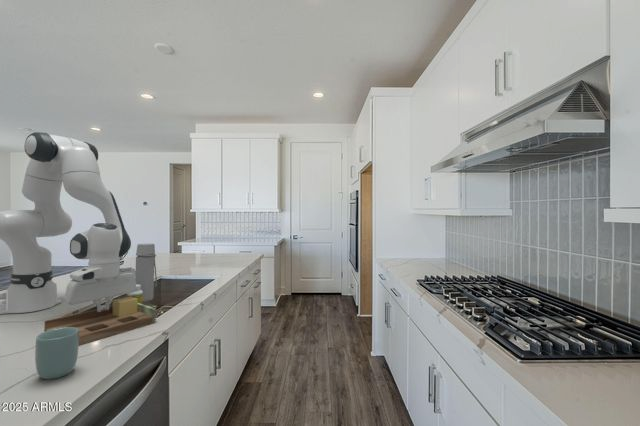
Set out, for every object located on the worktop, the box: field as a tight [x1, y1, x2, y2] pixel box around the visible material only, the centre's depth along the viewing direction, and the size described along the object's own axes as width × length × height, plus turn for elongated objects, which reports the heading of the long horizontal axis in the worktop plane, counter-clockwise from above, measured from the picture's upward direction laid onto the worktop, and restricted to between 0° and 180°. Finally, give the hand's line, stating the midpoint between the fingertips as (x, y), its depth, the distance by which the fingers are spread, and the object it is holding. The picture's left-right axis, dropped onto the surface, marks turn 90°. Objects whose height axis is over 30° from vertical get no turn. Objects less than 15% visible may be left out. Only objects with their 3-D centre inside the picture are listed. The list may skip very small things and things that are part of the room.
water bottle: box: [135, 242, 158, 303], centre depth 134 cm, size 9×8×25 cm
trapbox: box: [43, 303, 157, 347], centre depth 100 cm, size 16×26×6 cm, turn 148°
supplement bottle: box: [126, 285, 143, 304], centre depth 120 cm, size 5×5×10 cm
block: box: [112, 296, 138, 317], centre depth 108 cm, size 5×6×5 cm
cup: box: [34, 327, 80, 380], centre depth 72 cm, size 8×8×10 cm
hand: (103, 310), depth 103 cm, fingers closed
